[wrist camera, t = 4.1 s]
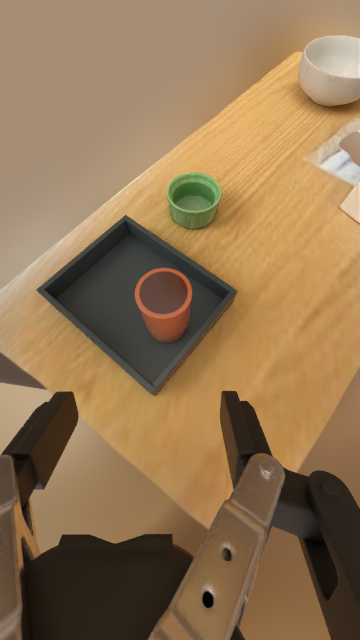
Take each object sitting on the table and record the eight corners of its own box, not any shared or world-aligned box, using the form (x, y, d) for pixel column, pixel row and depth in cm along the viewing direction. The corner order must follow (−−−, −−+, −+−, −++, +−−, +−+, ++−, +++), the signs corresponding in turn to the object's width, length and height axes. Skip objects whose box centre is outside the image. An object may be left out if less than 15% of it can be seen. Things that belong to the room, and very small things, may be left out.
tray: (154, 396, 30) (151, 394, 27) (49, 301, 35) (35, 289, 32) (232, 302, 35) (237, 290, 32) (130, 231, 40) (125, 214, 37)
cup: (170, 351, 32) (166, 330, 23) (137, 324, 33) (122, 295, 25) (198, 319, 33) (203, 288, 25) (165, 294, 35) (160, 258, 26)
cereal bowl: (275, 95, 55) (287, 52, 48) (317, 70, 59) (334, 27, 52) (335, 128, 50) (359, 86, 44) (377, 98, 54) (404, 55, 48)
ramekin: (157, 216, 41) (155, 195, 37) (187, 187, 44) (187, 164, 40) (198, 240, 39) (201, 220, 35) (227, 208, 42) (232, 186, 38)
